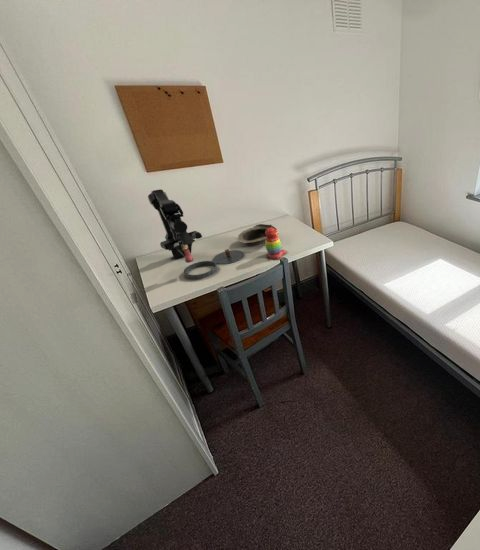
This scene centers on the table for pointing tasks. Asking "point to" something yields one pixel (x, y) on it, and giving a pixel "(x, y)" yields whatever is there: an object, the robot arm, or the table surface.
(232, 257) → the lid
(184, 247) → the doll
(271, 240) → the stacking bear
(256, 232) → the stone bowl
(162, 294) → the table surface
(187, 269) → the pan
